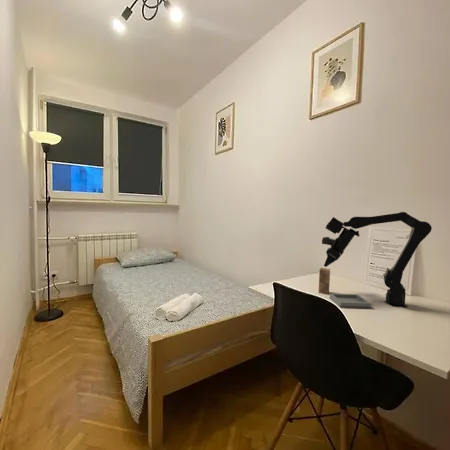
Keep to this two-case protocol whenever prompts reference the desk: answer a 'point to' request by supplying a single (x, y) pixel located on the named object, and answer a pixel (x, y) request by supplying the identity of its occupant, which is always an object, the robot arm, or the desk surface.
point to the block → (324, 280)
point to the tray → (350, 301)
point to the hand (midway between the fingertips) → (326, 264)
